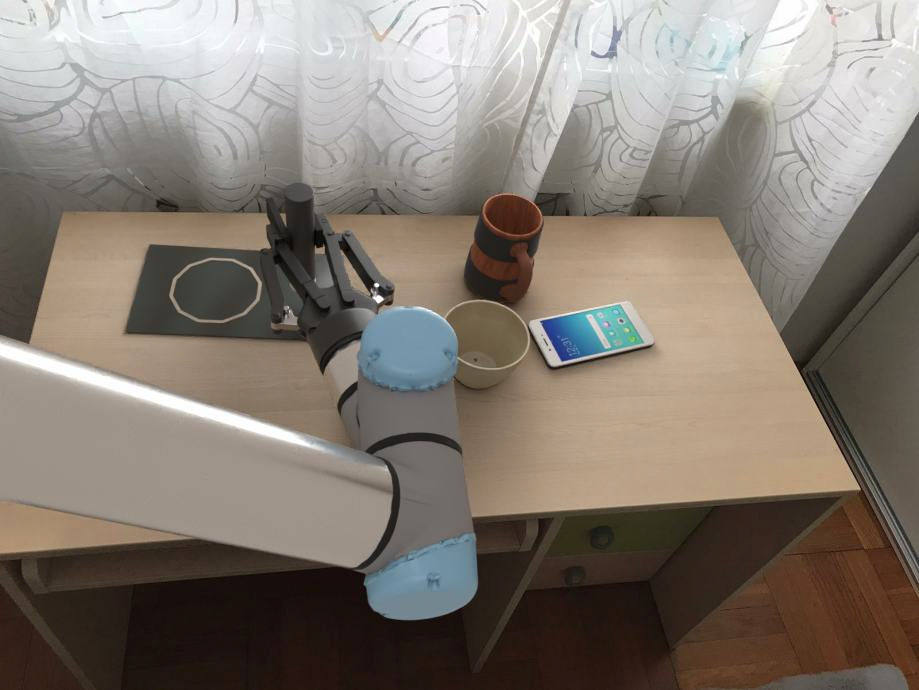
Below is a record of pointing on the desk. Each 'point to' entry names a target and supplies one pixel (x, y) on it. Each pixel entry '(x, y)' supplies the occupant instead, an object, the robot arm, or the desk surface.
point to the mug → (504, 248)
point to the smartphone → (590, 334)
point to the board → (211, 293)
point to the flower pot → (487, 341)
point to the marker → (301, 225)
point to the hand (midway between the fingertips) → (285, 204)
